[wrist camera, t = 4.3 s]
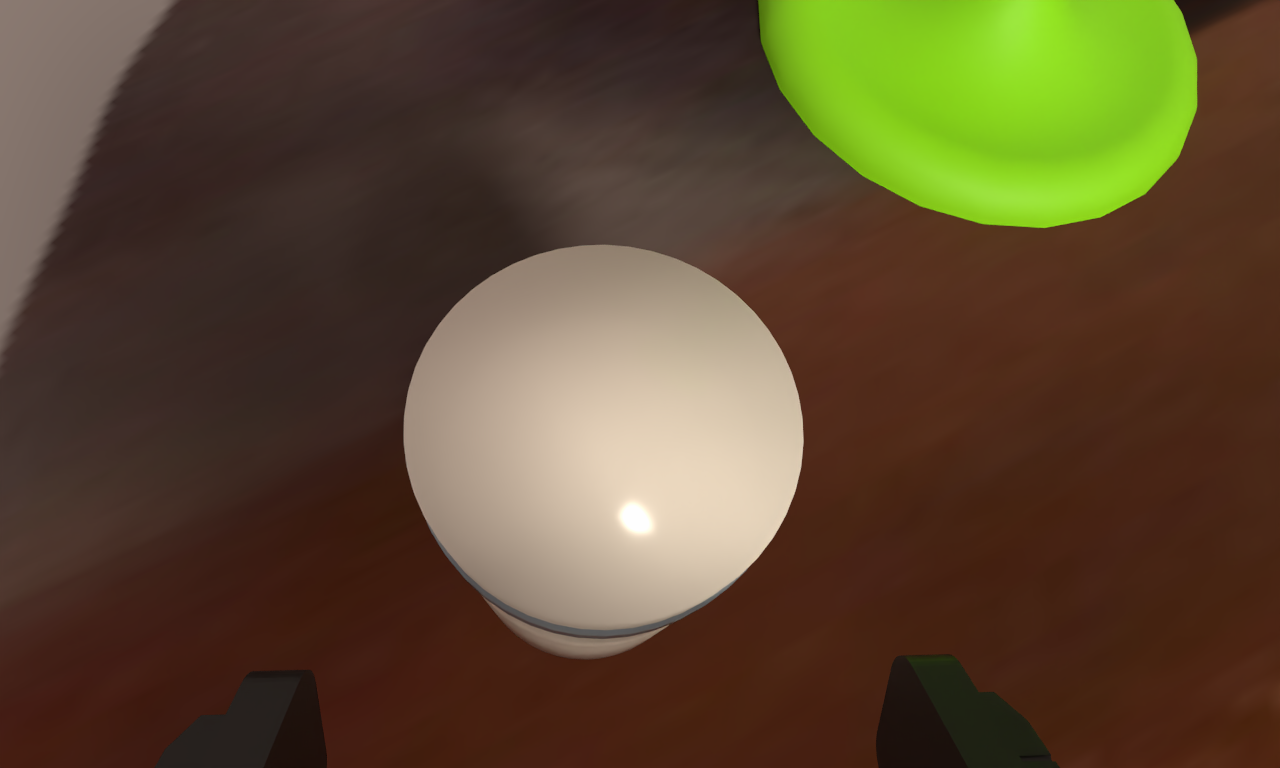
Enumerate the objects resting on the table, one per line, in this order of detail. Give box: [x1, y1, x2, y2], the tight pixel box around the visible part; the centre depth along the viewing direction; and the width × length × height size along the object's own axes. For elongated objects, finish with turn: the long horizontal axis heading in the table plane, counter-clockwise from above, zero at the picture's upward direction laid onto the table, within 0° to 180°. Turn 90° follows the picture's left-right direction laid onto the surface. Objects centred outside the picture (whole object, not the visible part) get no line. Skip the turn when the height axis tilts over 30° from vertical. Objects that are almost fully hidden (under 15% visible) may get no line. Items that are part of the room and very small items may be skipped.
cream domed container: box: [404, 245, 803, 660], centre depth 16 cm, size 6×6×10 cm
